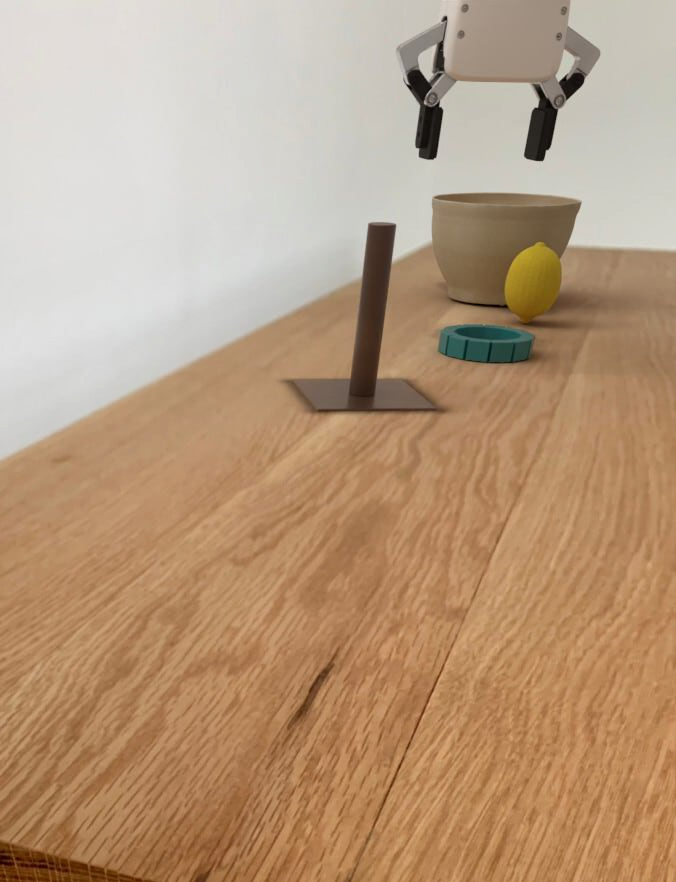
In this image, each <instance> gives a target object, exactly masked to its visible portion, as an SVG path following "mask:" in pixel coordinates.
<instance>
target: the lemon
mask: <svg viewBox="0 0 676 882" xmlns="http://www.w3.org/2000/svg"><path fill="white" fill-rule="evenodd" d="M562 271H563V267H562V263H561V258H560V259H559V257H558V256H557V254H556V253H555V252H554V251H553V250H551V249H550V248H548V247H546V245H545V244H544V243H543V242H538V243H536V244H535V245H534V246H532V247H529V248H527V249H525V250H524V251H522V252H521V253H520V254H519V255H518V256H517V257H516V258H515V259H514V261H513V262H512V264H511V266H510V269H509V271H508V274H507V278H506V282H505V299H506V303H507V305H506V306H507V307H508V309H509V310H510V312H512V313H513V314H514V315H516V316H517V317H518V318H519V320H520V321H521V322H522V323H523V324H529V323H531V322H532V321H533V320H534V319H535V318H537V317H539V316H542V315H543V314H545V313H547V312H548V311H549V310H550V309H551V308H552V306H554V303H555V302H556V301H557V298H558V295H559V293H560V289H561V286H562V280H563V279H562V277H563V272H562Z"/></svg>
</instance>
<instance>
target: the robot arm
mask: <svg viewBox="0 0 676 882" xmlns="http://www.w3.org/2000/svg"><path fill="white" fill-rule="evenodd" d="M570 9H571V0H442V1H441V5H440V10H439V15H438V20H437V23H436V24H434V25H433V26H430V27H429V28H427V29H425V30H424V31H422V32H420V33H418V34H416V35H415V36H412V37H411V38H409V39H407V40H405V41H403V42H402V43H400V44H399V45H398V46H397V47H396V49H395V55H396V58H397V61H398V64H399V68H400V72H401V73H402V76H403V83H404V84H405V86H406V88H407V89H408V90H409V92H410V93H411V95H412V96H413V97H414V99H415V102H416V104H417V105H418V106H419V111H418V112H419V113H418V118H417V126H416V133H415V140H414V145H415V148H416V149H418V157H419V158H420V159H422V160H427V161H434V160H435V159H436V158H437V157H438V151H439V143H440V137H441V130H442V123H443V117H444V109H443V107H442V106H441V100H442V99H443V98H444V96H446V94H447V93H448V92H449V91H450V90H451V89H452V87H454V85H455V84H456V83H457V82H470V83H516V84H518V83H519V84H521V83H522V84H523V83H524V84H529V86H530V87H531V89H532V91H533V93H534V95H535V97H536V98H537V100H538V104H537V107H533V109H532V110H531V114H530V120H529V124H528V131H527V136H526V140H525V146H524V153H523V157H524V158H525V159H526V160H530V161H533V162H544V161H545V158H546V154H547V151H549V150H550V149H551V147H552V143H553V139H554V134H555V130H556V129H555V128H556V123H557V119H558V113H559V110H560V109H562V108H563V107H564V106H565V105H566V102H567V101H568V100H569V99H570V98H571V97H572V96H574V94H576V92H577V91H578V90H580V89H581V88H582V86H584V84H585V79H586V78H587V76H589V74H590V73H591V71H592V70H593V68H594V67H595V65H596V64H597V62H598V61H599V59H600V57H601V49H599V47H597V46H595V45H594V44H593V43H592V42H591V41H590V40H588V39H586V38H585V37H584V36H582V35H581V34H580V33H578V32H577V31H576V30H574V29H573V28H572V27H570V26H569V17H570ZM430 48H432V51H431V58H430V59H431V60H430V70H431V71H430V72H431V73H432V75H431V77H430V78H429V79H428V80H427V78H426V76H425V75H424V74H423V72H422V71H421V69H420V64H419V57H420V55H421V54H422V53H423V52H425V51H427V50H429V49H430ZM564 51H566V52H567V53H568V54H570V55H572V57H573V58H574V62H573V64H572V66H571V69H570V70H569V72H567V73H566V74H565V75H563V77H562V78H561V79H560V80H558V78H557V76H556V75H557V74H558V72H559V70H560V67H561V65H562V64H561V63H562V60H563V55H564Z"/></svg>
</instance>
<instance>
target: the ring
mask: <svg viewBox="0 0 676 882" xmlns="http://www.w3.org/2000/svg"><path fill="white" fill-rule="evenodd" d="M535 339H536V335H535V334H533V333H531V332H530V331H528V330H524V329H522V328H521V329H520V328H516V327H512V326H507V327H506V325H505V326H504V325H495V324H482V323H481V324H479V323H478V324H474V323H473V324H472V323H471V324H469V323H467V324H465V323H464V324H455V325H449V326H445V327H444V328H442V329H441V330H440V335H439V341H438V347H437V351H438V352H439V353H441V354H442V353H443V354H442V355H444V356H447V357H449V358H454V357H455V358H454V359H458V360H462V359H463V360H465V361H468V360H473V361H472V362H477V361H481V362H480V363H487V362H488V361H489V362H488V363H490V362H493V364H495V363H494V362H500V363H504V362H510V361H511V362H510V363H516V361H517V362H521V360H522V361H526V360H529V359H530V358H531V356H532V355H533V349H534V344H535ZM528 358H529V359H528ZM525 359H526V360H525ZM500 363H499V364H500ZM504 364H505V363H504Z"/></svg>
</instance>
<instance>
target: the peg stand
mask: <svg viewBox="0 0 676 882" xmlns="http://www.w3.org/2000/svg"><path fill="white" fill-rule="evenodd" d="M396 232H397V223H394V222H387V221H372V222H368V223H367V230H366V240H365V247H364V257H363V266H362V275H361V282H360V290H359V291H360V292H359V300H358V309H357V318H356V325H355V326H356V327H355V336H354V344H353V354H352V361H351V370H350V379H293V381H292V383H293V384H294V386H295V387H296V388H297V389H298V390H299V391H300V393H301V394H302V395H303V396H304V398H305V399H306V400H307V401H308V402H309V404H310V405H311V406H312V407H313V409H314V410H315V411H316V412H321V413H322V412H412V411H413V412H424V411H425V412H427V411H428V412H430V411H433V412H434V411H437V407H436V406H434V405H433V404H432V403H431V402H430V401H428V400H427V399H426V398H425V397H424V396H423V395H421V394H420V393H419V392H418V391H417V390H416V389H414V388H413V386H410V384H408V383H407V382H406V381H405V380H404V379H402V378H393V379H392V378H391V379H390V378H388V379H387V378H382V379H381V378H378V374H379V366H380V358H381V351H382V343H383V333H384V327H385V318H386V310H387V309H386V308H387V304H388V303H387V302H388V296H389V286H390V279H391V271H392V263H393V256H394V248H395V240H396Z"/></svg>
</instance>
